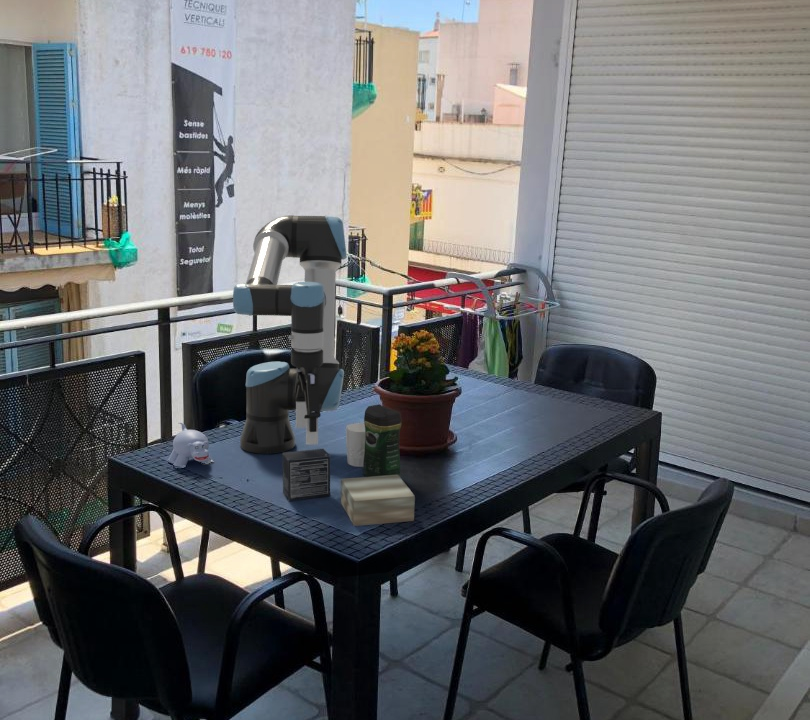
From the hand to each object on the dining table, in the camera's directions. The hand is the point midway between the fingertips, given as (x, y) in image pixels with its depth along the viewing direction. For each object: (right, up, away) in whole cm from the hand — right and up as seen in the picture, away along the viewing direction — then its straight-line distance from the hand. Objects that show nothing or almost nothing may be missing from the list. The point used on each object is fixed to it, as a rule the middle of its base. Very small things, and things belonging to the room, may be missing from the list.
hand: (306, 435), depth 222 cm
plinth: (+17, -17, -5) cm, 25 cm away
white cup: (+11, -10, +27) cm, 31 cm away
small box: (-1, -15, +4) cm, 15 cm away
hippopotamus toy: (-32, -9, +22) cm, 40 cm away
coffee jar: (+17, -12, +17) cm, 27 cm away
